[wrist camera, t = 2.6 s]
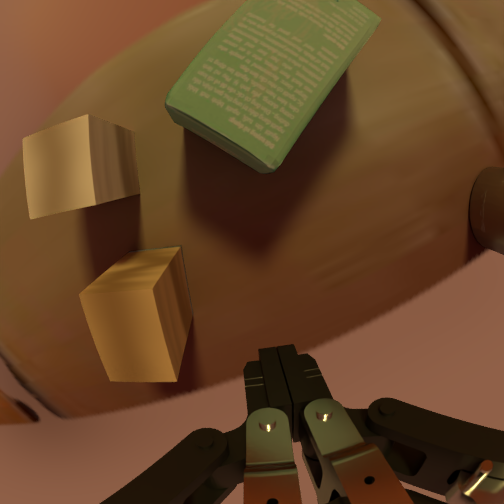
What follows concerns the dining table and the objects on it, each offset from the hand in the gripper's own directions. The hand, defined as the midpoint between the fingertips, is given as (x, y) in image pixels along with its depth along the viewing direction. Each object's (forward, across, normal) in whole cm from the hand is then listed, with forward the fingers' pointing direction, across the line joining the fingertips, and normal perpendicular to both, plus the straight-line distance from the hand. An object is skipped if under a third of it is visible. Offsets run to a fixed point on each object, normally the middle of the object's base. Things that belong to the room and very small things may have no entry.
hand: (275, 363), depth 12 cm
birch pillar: (+12, +11, -10) cm, 19 cm away
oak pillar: (+12, +8, 0) cm, 14 cm away
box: (+12, -2, -15) cm, 20 cm away
